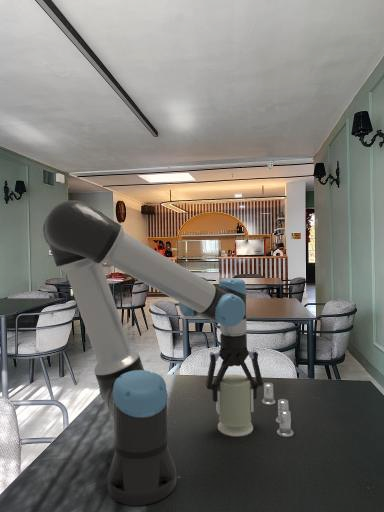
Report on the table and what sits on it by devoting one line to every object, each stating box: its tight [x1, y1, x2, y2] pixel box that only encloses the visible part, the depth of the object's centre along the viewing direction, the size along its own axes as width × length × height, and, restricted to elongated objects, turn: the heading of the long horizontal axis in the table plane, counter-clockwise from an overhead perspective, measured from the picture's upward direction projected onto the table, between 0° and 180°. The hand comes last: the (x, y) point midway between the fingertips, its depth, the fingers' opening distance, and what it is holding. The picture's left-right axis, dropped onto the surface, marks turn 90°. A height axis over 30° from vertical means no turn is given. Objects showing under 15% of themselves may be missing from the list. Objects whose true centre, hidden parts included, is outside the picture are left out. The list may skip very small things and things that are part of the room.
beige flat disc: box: [217, 421, 254, 438], centre depth 109 cm, size 10×10×1 cm
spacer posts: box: [261, 382, 294, 438], centre depth 115 cm, size 25×19×6 cm
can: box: [218, 374, 252, 427], centre depth 108 cm, size 9×9×12 cm
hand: (234, 411), depth 108 cm, fingers closed on can, 9 cm apart
